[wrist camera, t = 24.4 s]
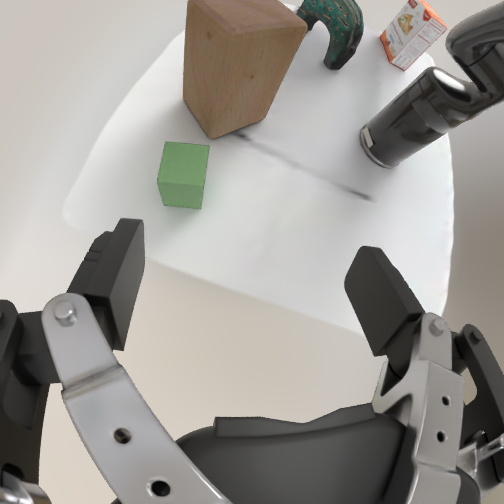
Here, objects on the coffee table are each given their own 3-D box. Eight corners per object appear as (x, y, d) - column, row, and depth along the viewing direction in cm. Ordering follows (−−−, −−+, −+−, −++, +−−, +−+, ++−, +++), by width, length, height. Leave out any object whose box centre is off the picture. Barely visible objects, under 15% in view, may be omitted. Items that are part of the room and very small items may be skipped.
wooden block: (209, 143, 37) (230, 35, 18) (180, 98, 37) (184, -6, 18) (266, 121, 39) (314, 25, 20) (234, 80, 40) (262, -15, 20)
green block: (205, 174, 36) (209, 145, 28) (201, 208, 35) (203, 186, 28) (169, 171, 35) (165, 141, 27) (163, 205, 34) (156, 181, 27)
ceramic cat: (285, 19, 46) (313, -42, 27) (308, 21, 47) (338, -36, 28) (324, 71, 44) (371, 3, 25) (348, 72, 46) (396, 12, 27)
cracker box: (378, 36, 53) (413, -7, 33) (394, 44, 54) (430, 4, 34) (388, 62, 51) (431, 15, 31) (405, 71, 52) (449, 29, 32)
